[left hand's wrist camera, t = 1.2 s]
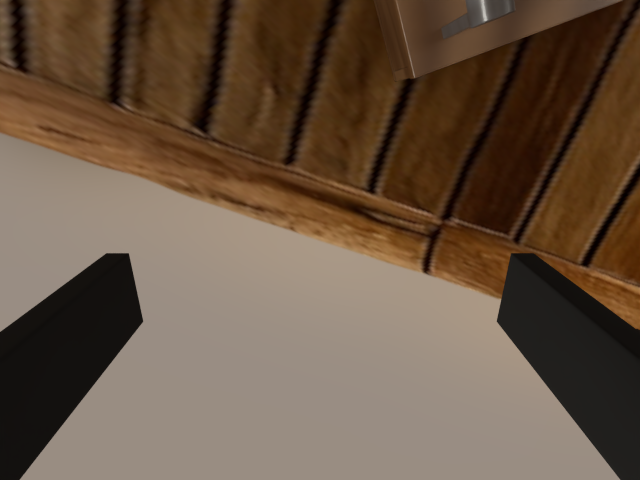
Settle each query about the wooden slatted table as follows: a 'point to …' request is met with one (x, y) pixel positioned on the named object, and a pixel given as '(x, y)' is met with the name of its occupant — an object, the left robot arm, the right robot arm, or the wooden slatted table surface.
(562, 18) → the lid
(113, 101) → the wooden slatted table surface
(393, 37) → the chest
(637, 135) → the wooden slatted table surface
